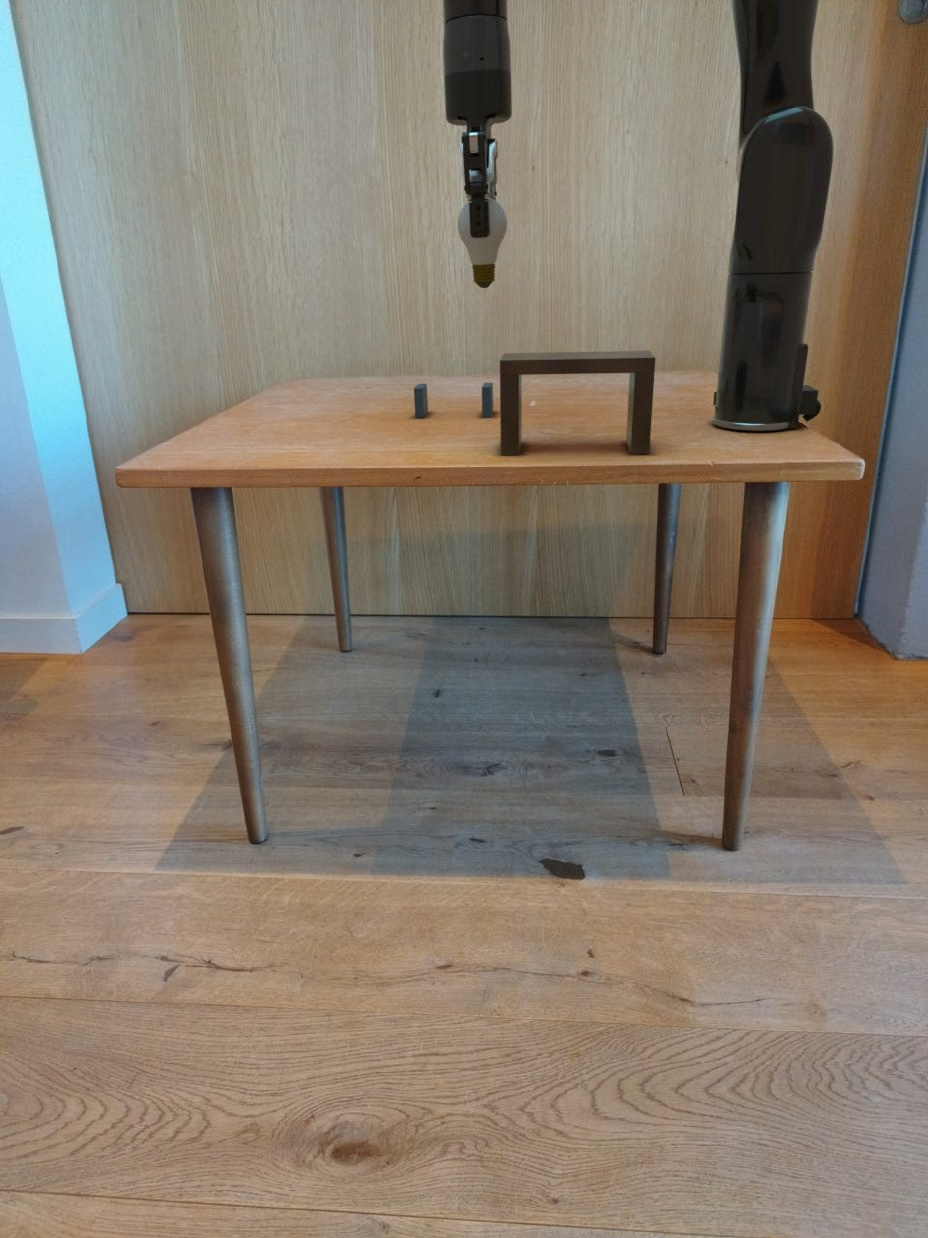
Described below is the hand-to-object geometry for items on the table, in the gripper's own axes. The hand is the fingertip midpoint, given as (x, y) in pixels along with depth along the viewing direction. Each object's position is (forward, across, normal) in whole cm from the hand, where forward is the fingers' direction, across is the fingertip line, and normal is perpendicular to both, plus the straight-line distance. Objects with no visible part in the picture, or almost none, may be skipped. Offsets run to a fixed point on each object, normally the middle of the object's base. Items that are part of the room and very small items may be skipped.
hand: (482, 237), depth 98 cm
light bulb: (+6, 0, 0) cm, 6 cm away
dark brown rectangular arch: (+22, -16, -11) cm, 29 cm away
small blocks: (+22, +6, +5) cm, 23 cm away
